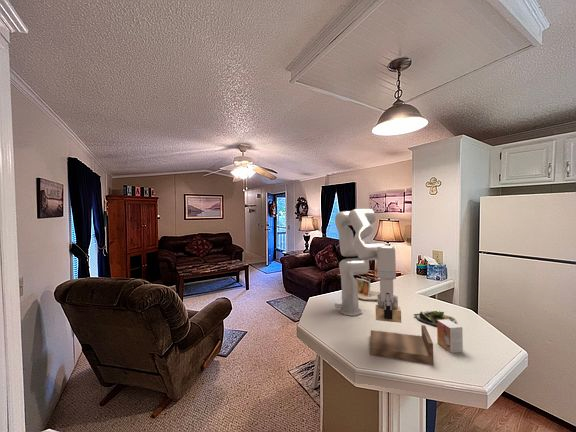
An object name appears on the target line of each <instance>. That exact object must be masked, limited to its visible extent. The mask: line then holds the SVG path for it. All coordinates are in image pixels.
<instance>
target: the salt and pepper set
mask: <svg viewBox="0 0 576 432" xmlns="http://www.w3.org/2000/svg"><path fill="white" fill-rule="evenodd" d="M398 297H399V296H398V295H394V294H393V303H391V307H392V319H385V318H384V309H385V306H384V302H381V297H380V295H377V300H378V301H377V304H375V321H381V322H389V323H392V322H393V323H399V324H402V309H401V306H399V298H398Z"/></svg>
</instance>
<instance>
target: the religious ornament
mask: <svg viewBox="0 0 576 432" xmlns="http://www.w3.org/2000/svg"><path fill="white" fill-rule="evenodd" d="M355 279H356V280H357V282H358V300H362V301H364V302H378V300H377V295H380V291H376V290H371V282H370V281H368V280H366V279H362V278H358V277H356V278H355Z"/></svg>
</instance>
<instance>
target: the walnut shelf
mask: <svg viewBox="0 0 576 432" xmlns="http://www.w3.org/2000/svg"><path fill="white" fill-rule="evenodd" d="M420 327H421V335H415V334H406V333H398V332H391V331H389V332H388V331H382V330H373V329H372V330H370V340H369V343H370V345H369V347H370V348H369V354H370V356H376V357H382V358H383V357H384V358H387V359H396V360H403V361H409V362H416V363H421V364H427V365H428V364H429V365H434V363H435V361H434V342H433V340H432V338H431V336H430V333H429V331H428V330H427V327H426V324H424V325H423V324H421V326H420Z"/></svg>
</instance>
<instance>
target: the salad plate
mask: <svg viewBox="0 0 576 432" xmlns="http://www.w3.org/2000/svg"><path fill="white" fill-rule="evenodd" d="M413 316H415V317H416V318H417V321H419V322H421V323H422V324H424V325H429V326H432V327H435V328H437V320H446V319H449V320H450V321H452V322H454V323H455V324H456V322H457V319H456V318H455V317H453V316H450V315H446V314H445V312H444V311H440V310H438V311H437V310H432V311H431V310H430V311H429V310H427V311H420V312H419V313H414V314H413Z"/></svg>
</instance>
